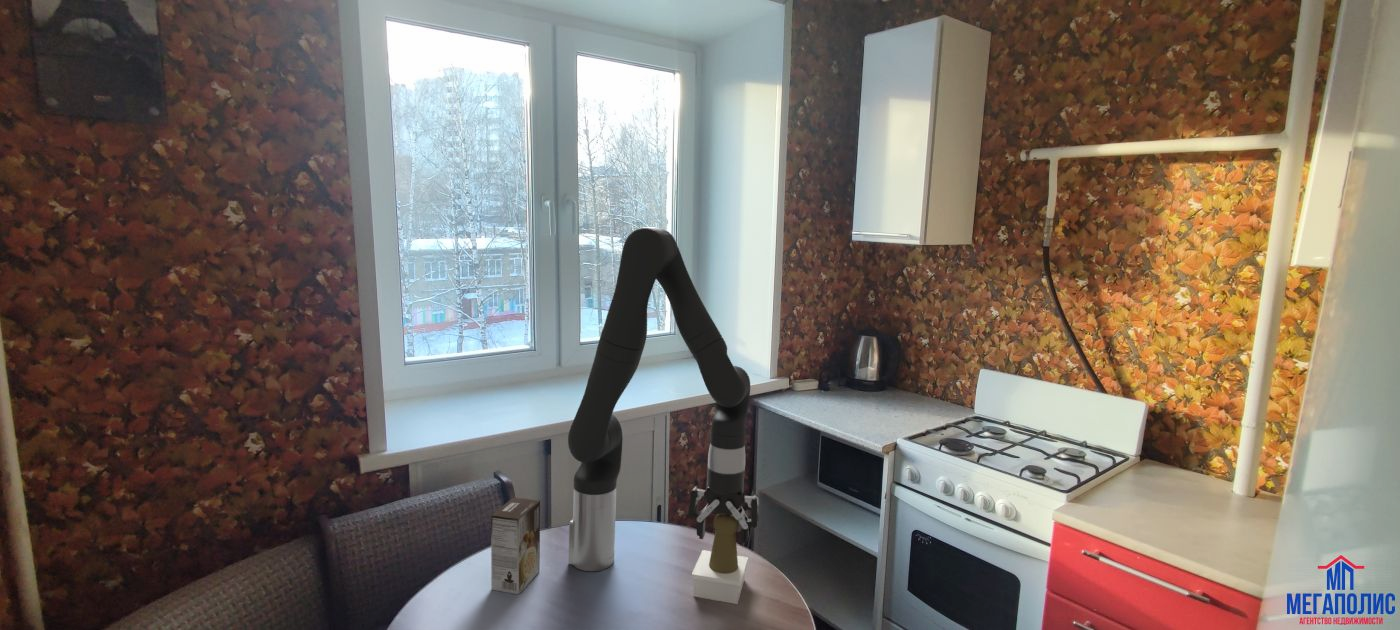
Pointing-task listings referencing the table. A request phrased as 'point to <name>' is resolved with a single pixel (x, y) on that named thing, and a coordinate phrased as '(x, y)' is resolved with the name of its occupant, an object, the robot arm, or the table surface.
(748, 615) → the table surface
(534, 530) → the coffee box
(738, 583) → the podium
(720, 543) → the cork
